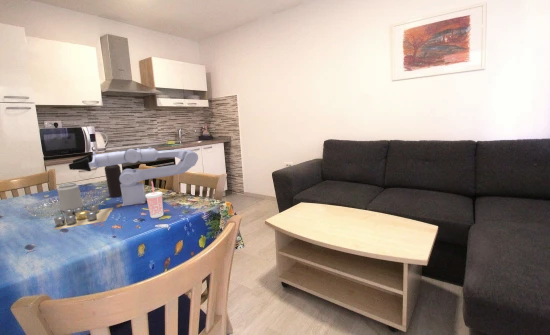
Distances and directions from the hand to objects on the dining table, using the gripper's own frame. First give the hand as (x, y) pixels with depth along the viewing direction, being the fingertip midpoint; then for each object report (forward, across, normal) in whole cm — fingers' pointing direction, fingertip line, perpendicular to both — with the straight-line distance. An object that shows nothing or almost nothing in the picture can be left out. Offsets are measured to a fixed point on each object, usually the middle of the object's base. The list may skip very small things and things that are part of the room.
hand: (71, 164), depth 110 cm
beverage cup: (-28, +26, +20) cm, 44 cm away
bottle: (-11, -19, +23) cm, 32 cm away
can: (+5, -4, +21) cm, 22 cm away
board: (-3, +14, +20) cm, 24 cm away
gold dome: (-2, +14, +19) cm, 24 cm away
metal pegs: (-1, +14, +19) cm, 24 cm away
